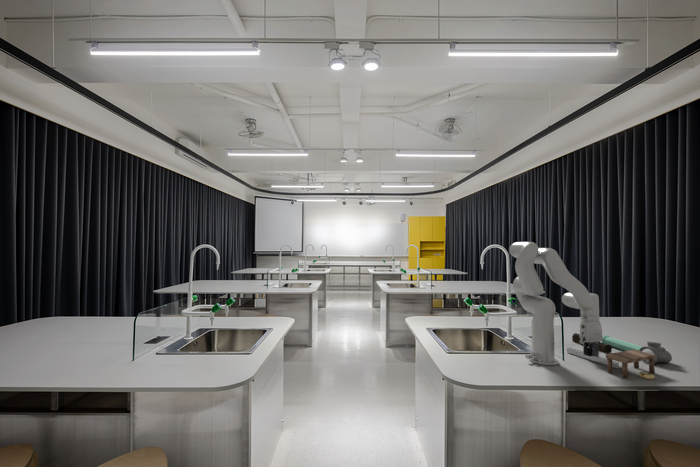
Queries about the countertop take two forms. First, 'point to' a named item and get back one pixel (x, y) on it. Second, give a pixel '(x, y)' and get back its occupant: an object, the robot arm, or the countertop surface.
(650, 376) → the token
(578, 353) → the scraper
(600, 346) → the hand tool
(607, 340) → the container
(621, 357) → the bench
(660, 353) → the pipe fitting
